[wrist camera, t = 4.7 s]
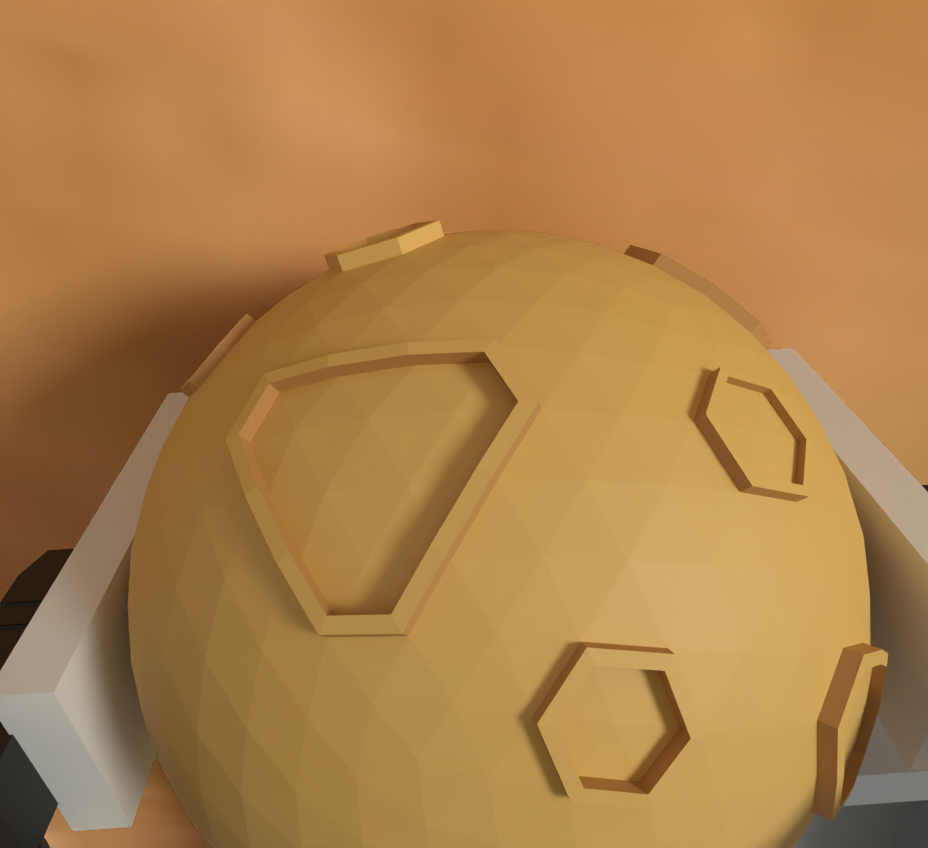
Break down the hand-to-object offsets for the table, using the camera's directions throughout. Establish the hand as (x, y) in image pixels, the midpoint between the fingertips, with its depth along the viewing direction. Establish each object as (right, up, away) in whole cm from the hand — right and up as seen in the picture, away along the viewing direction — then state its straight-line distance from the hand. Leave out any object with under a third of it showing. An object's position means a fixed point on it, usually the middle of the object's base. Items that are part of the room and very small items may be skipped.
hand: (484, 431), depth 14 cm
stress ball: (0, +1, +1) cm, 1 cm away
